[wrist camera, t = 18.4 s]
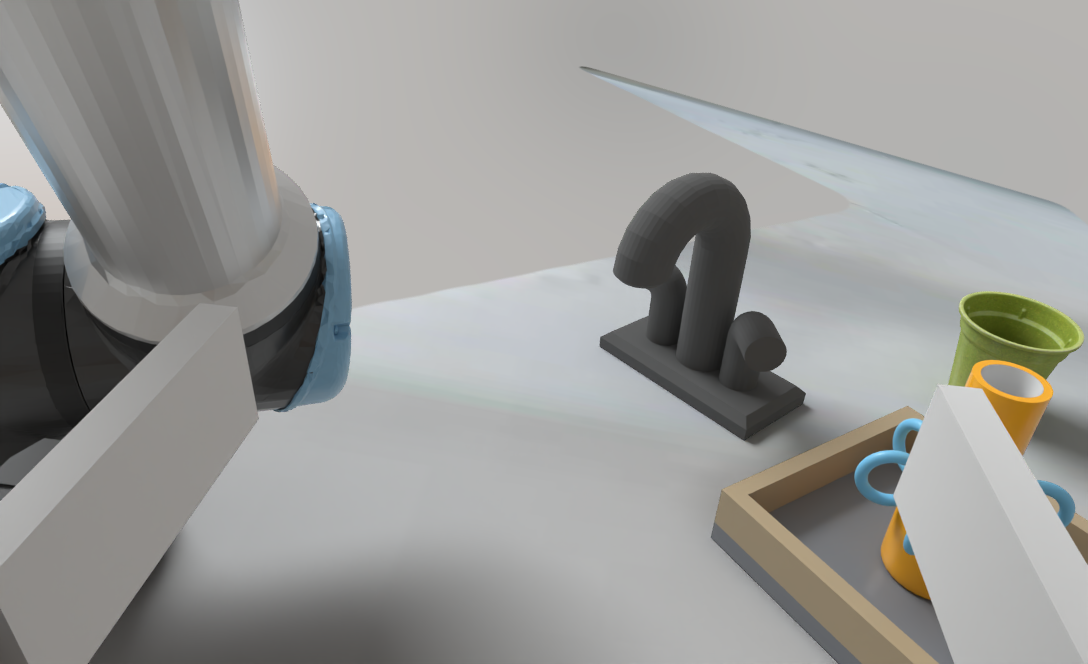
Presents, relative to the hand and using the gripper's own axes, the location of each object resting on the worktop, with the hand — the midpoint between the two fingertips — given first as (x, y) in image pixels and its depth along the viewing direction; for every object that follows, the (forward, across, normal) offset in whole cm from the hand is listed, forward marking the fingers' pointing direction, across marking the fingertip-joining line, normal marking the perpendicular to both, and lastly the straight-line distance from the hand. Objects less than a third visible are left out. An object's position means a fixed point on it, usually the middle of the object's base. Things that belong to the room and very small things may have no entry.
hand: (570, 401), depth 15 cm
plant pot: (+48, +35, -31) cm, 67 cm away
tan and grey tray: (+26, +23, -31) cm, 46 cm away
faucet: (+45, +7, -32) cm, 55 cm away
